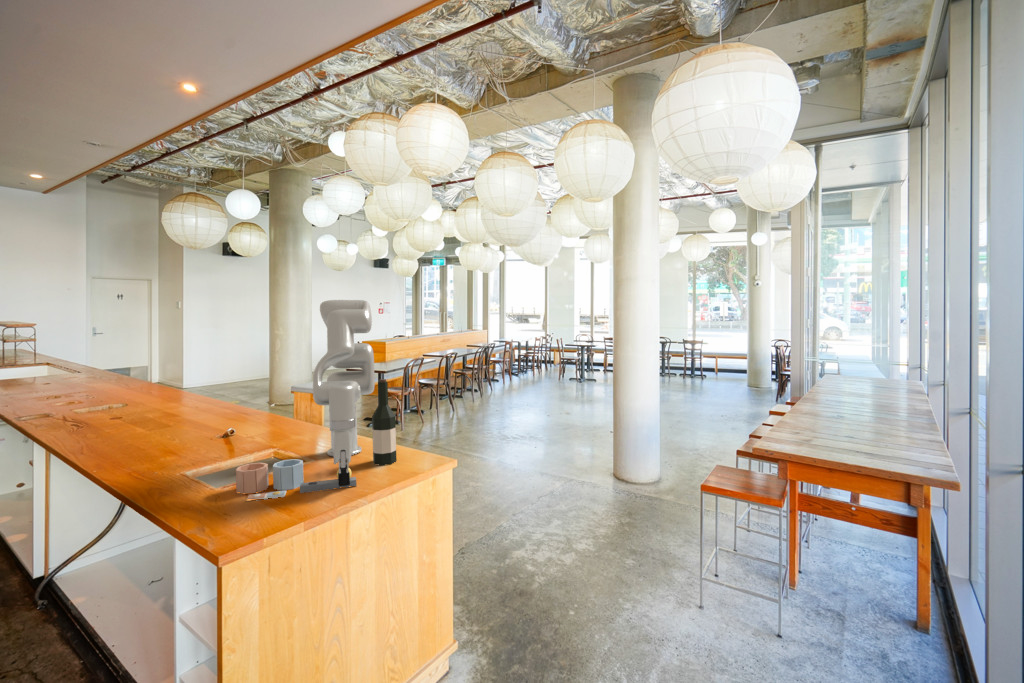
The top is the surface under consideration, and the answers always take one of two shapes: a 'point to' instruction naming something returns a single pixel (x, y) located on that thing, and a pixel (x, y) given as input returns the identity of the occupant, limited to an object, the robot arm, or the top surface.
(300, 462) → the tube bluegrey
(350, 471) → the ball ochre
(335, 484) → the holder
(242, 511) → the top surface
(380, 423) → the wine bottle
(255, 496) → the card
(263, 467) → the tube terracotta
